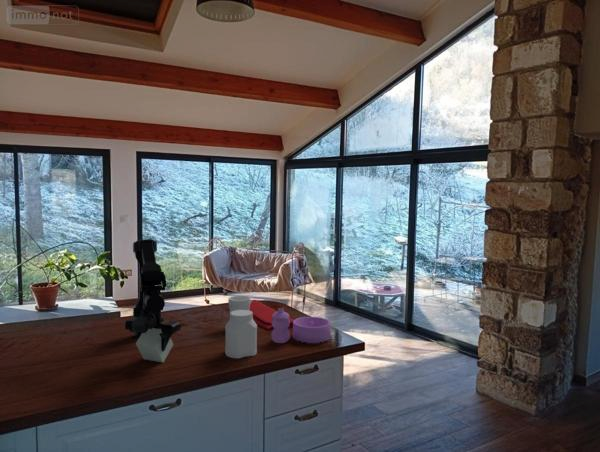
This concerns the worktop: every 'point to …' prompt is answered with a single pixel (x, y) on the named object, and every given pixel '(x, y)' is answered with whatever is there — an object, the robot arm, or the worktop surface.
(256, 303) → the dish drying mat
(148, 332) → the pale grey cube
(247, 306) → the foam cup
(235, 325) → the jar
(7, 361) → the worktop surface
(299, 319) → the container set
